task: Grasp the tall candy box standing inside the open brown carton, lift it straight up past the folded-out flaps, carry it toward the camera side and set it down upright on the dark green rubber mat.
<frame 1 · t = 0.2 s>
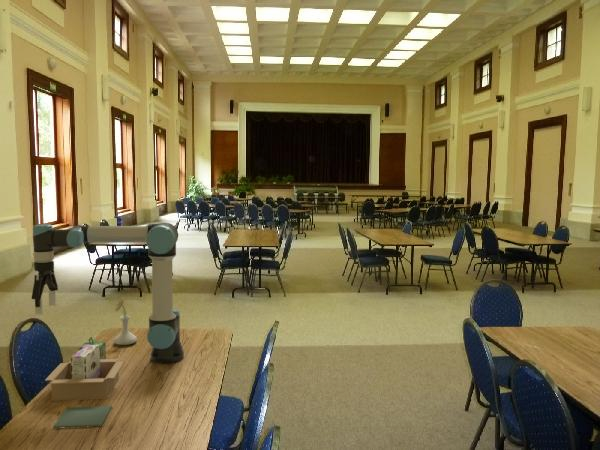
hand: (46, 309, 218), 28 cm above the table, fingers open, 13 cm apart
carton: (86, 389, 204), on the table
chalk box: (93, 370, 223), on the table
flower in vase: (125, 344, 258), on the table
candy box: (86, 390, 204), resting in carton
mat: (84, 417, 181), on the table
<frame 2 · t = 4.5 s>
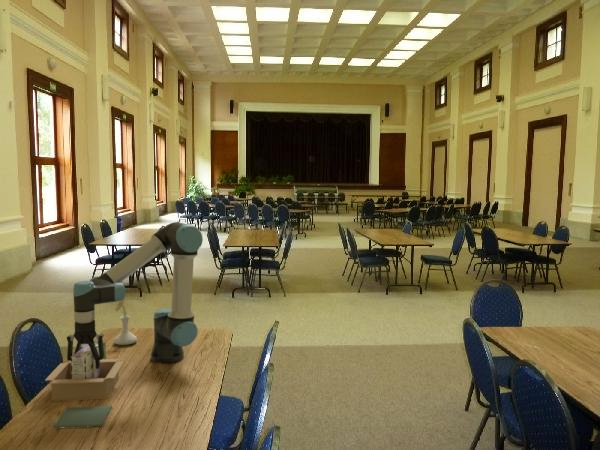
hand: (86, 376, 203), 5 cm above the table, fingers closed on candy box, 6 cm apart
candy box: (86, 390, 204), resting in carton, touching gripper
everything else where it was.
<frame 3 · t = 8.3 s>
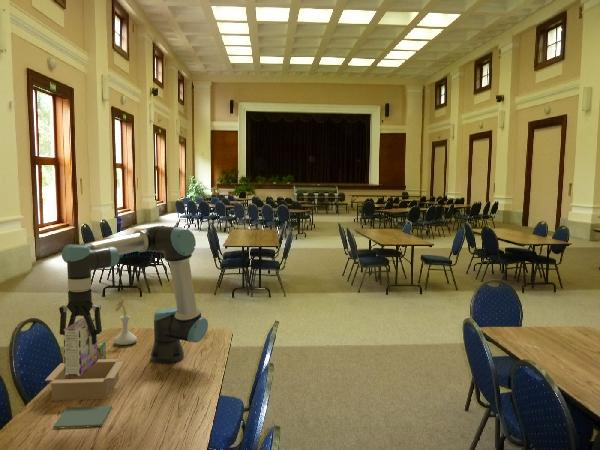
hand: (81, 353, 180), 23 cm above the table, fingers closed on candy box, 6 cm apart
candy box: (81, 368, 180), point 18 cm above the table, touching gripper
everything else where it was.
when the fingers open (8 cm above the table, at t = 12.1 s): candy box drops 1 cm, resting on mat.
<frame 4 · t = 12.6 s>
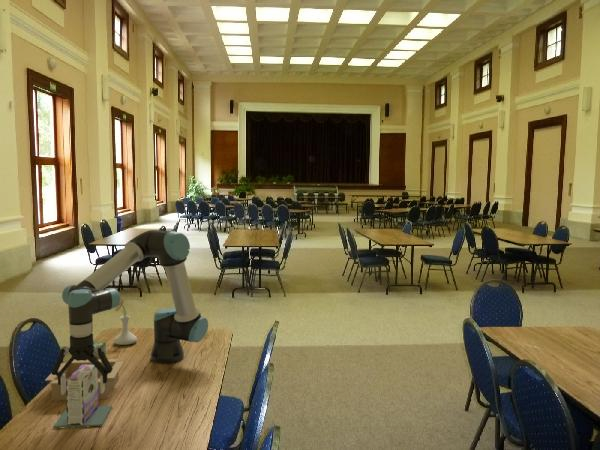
hand: (83, 392, 180), 9 cm above the table, fingers open, 13 cm apart
candy box: (83, 416, 181), point 1 cm above the table, touching mat
everything else where it was.
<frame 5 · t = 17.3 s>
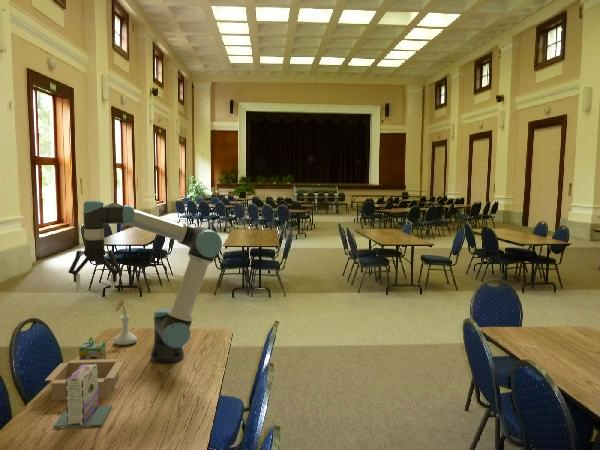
hand: (95, 289, 209), 39 cm above the table, fingers open, 13 cm apart
nothing on the table moved.
at the end: candy box inside the target area on the mat (0.1 cm from its centre), point 0.6 cm above the mat's base; candy box tilted 0°; candy box touching mat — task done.
